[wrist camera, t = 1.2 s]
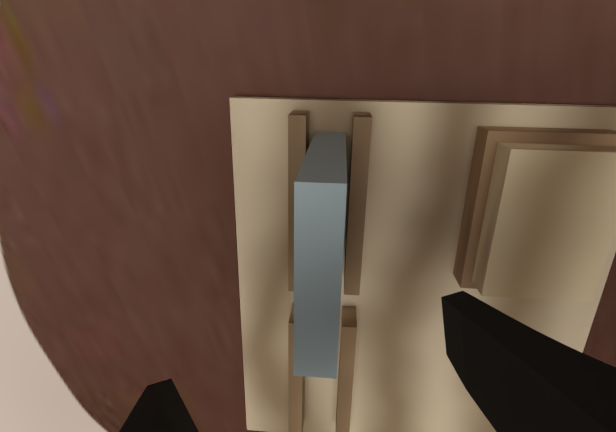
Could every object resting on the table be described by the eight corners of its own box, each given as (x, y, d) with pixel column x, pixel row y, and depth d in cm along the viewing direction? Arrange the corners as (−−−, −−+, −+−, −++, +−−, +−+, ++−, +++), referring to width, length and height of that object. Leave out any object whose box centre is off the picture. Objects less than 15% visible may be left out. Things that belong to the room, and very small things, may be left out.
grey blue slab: (345, 132, 20) (347, 183, 11) (339, 259, 22) (336, 379, 14) (315, 131, 20) (294, 181, 11) (312, 257, 22) (293, 375, 14)
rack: (646, 106, 19) (699, 113, 16) (541, 442, 27) (564, 486, 24) (234, 96, 20) (217, 101, 18) (250, 417, 28) (240, 456, 25)
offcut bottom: (609, 129, 18) (631, 134, 17) (566, 279, 21) (582, 294, 20) (477, 125, 19) (488, 130, 18) (452, 273, 22) (460, 287, 20)
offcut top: (616, 146, 17) (639, 153, 16) (574, 285, 20) (592, 302, 18) (497, 142, 18) (511, 149, 16) (471, 280, 20) (481, 296, 19)
